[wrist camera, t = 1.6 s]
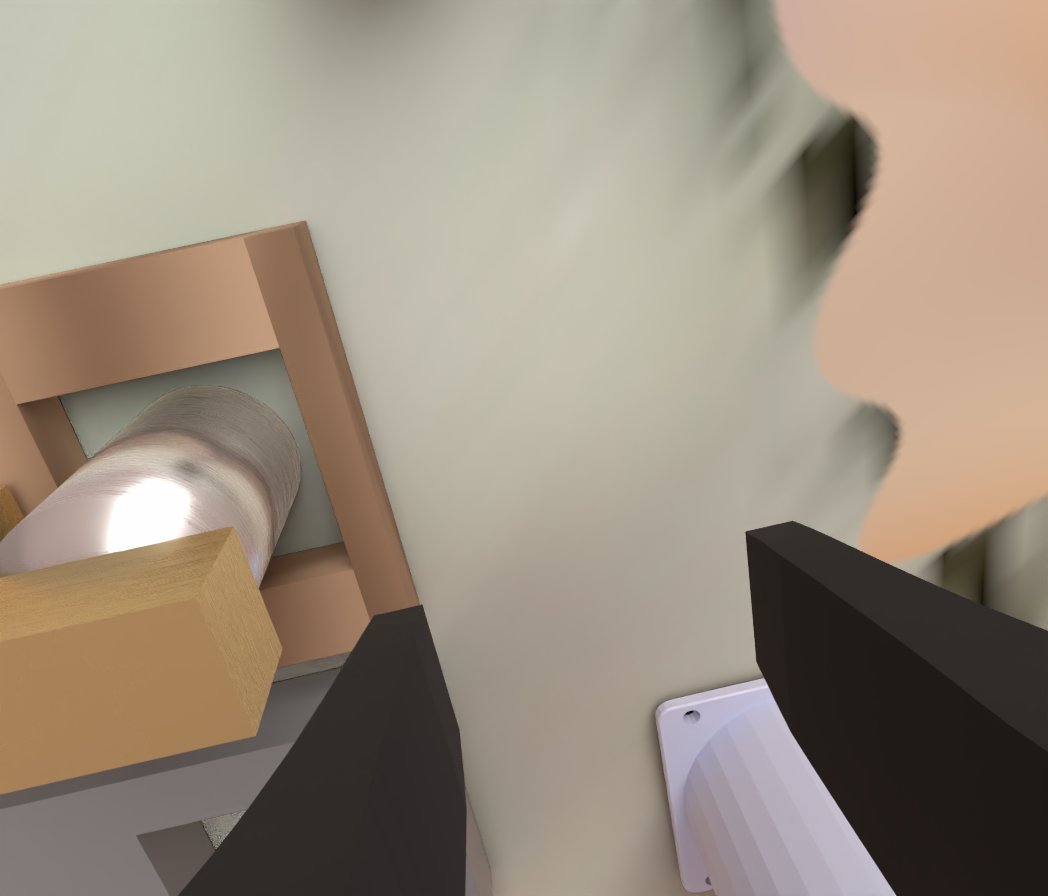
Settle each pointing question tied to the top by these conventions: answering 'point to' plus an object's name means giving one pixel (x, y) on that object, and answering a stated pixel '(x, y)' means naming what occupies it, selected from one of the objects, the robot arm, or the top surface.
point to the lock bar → (129, 656)
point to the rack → (161, 813)
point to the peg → (170, 484)
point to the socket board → (199, 338)
